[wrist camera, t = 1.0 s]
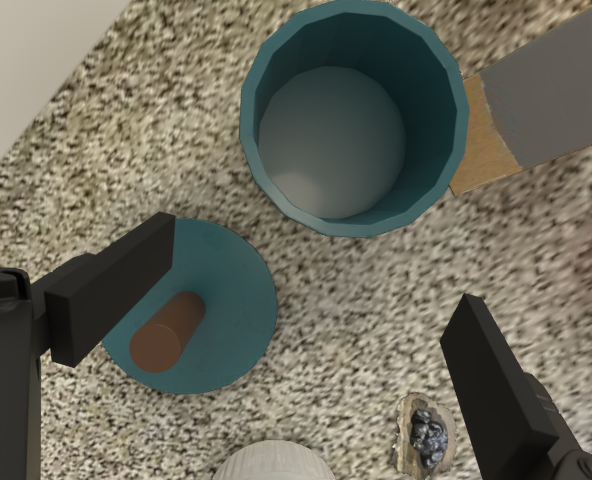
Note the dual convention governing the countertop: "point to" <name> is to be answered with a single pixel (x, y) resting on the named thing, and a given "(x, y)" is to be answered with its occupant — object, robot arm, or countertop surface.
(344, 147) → the lunch tin
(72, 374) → the countertop surface
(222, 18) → the countertop surface
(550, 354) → the countertop surface
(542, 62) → the sandwich container
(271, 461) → the ramekin
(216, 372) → the tin lid
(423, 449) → the blueberries
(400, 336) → the countertop surface
